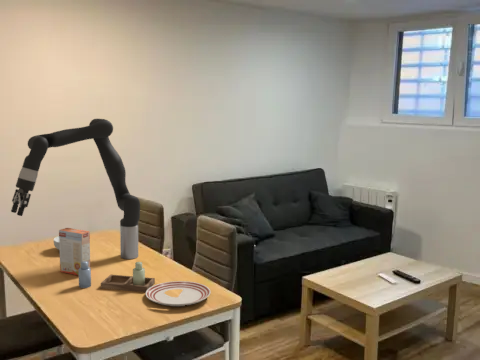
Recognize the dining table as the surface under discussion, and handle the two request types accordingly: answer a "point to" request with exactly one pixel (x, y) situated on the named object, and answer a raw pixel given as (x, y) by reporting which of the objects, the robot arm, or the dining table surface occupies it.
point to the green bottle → (138, 274)
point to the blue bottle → (84, 275)
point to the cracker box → (73, 249)
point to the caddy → (126, 283)
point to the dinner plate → (187, 297)
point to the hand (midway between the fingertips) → (16, 213)
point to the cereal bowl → (56, 242)
